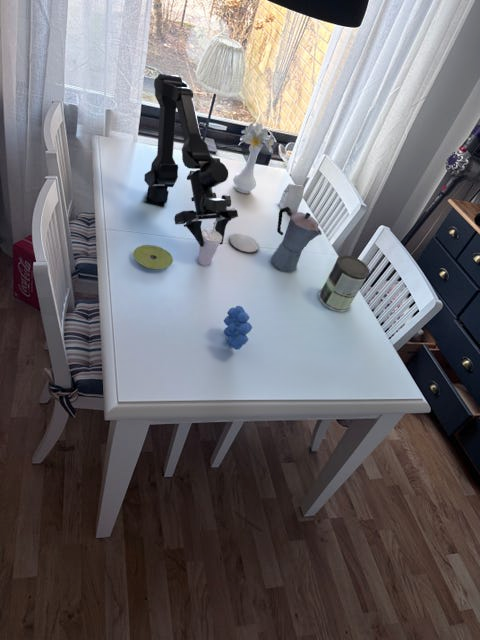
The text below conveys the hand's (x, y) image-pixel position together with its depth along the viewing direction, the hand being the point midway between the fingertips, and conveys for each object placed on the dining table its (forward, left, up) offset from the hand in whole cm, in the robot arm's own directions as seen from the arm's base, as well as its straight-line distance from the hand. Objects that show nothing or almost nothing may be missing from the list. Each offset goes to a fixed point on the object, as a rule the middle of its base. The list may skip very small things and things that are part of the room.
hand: (211, 245), depth 140 cm
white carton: (+31, +50, -7) cm, 60 cm away
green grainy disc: (-16, -5, -7) cm, 18 cm away
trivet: (+12, +16, -7) cm, 22 cm away
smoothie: (-1, +1, -7) cm, 7 cm away
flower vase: (+12, +56, -7) cm, 58 cm away
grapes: (+8, -32, -7) cm, 34 cm away
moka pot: (+25, +10, -7) cm, 28 cm away
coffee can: (+41, -4, -7) cm, 42 cm away
